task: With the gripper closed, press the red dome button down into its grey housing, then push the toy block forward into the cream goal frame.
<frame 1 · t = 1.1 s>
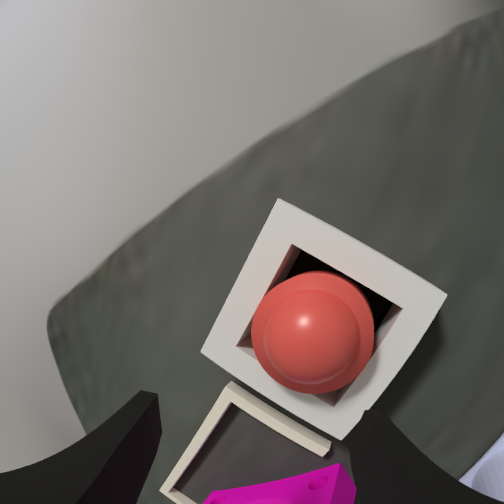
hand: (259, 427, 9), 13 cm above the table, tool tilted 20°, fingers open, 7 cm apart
dome: (312, 335, 17), point 5 cm above the table, slide at 0.0 cm
goal frame: (235, 475, 25), on the table
dome housing: (324, 315, 22), on the table
toy block: (285, 498, 24), on the table
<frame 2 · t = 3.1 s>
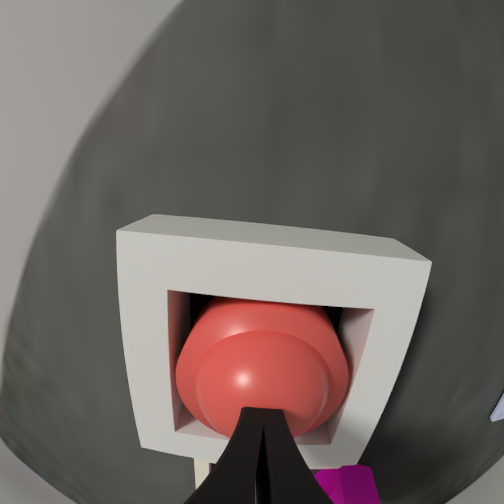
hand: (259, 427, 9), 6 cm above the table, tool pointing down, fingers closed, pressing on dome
dome: (262, 381, 12), point 4 cm above the table, slide at 1.3 cm, touching gripper
dome housing: (263, 337, 16), on the table
toy block: (305, 502, 21), on the table
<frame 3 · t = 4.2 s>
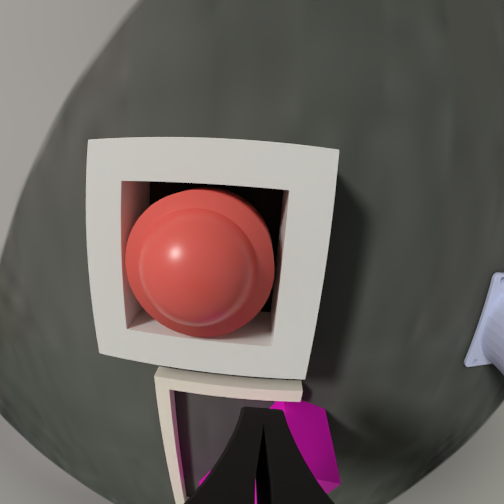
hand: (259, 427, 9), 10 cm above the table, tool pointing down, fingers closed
dome: (198, 265, 14), point 4 cm above the table, slide at 1.3 cm
goal frame: (230, 459, 23), on the table
dome housing: (210, 246, 18), on the table
toy block: (266, 454, 23), on the table
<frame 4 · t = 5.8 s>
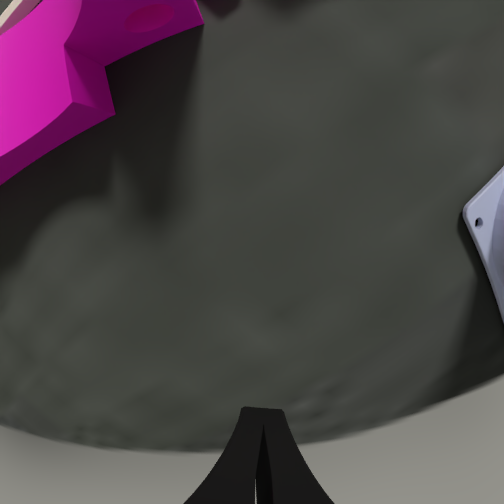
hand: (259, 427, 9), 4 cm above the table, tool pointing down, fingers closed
goal frame: (32, 77, 11), on the table
toy block: (59, 86, 11), on the table
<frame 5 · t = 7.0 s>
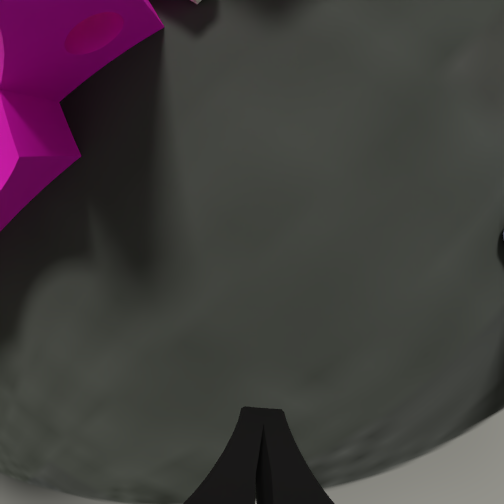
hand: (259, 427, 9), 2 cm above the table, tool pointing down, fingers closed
toy block: (16, 134, 9), on the table
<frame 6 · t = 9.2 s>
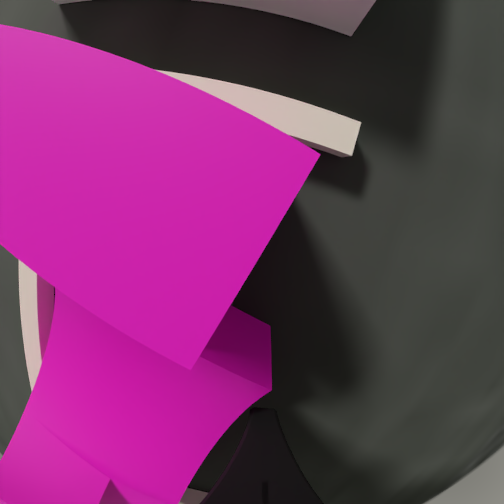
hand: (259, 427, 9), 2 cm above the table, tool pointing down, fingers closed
goal frame: (147, 360, 11), on the table
toy block: (160, 339, 11), on the table, touching goal frame, gripper
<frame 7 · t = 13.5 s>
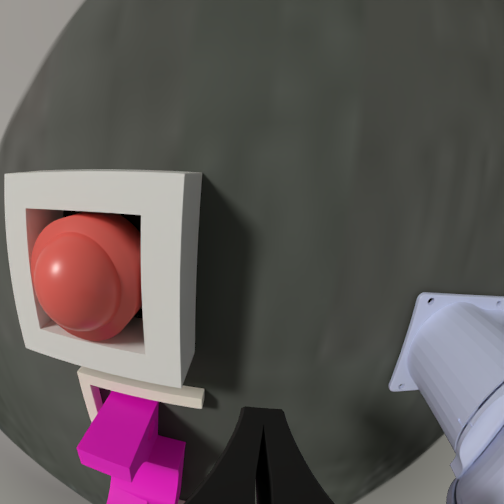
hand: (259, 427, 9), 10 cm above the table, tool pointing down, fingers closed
dome: (81, 279, 15), point 4 cm above the table, slide at 1.3 cm
goal frame: (157, 455, 24), on the table
dome housing: (110, 260, 19), on the table
toy block: (152, 447, 24), on the table
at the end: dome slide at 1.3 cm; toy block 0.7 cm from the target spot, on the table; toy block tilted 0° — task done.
